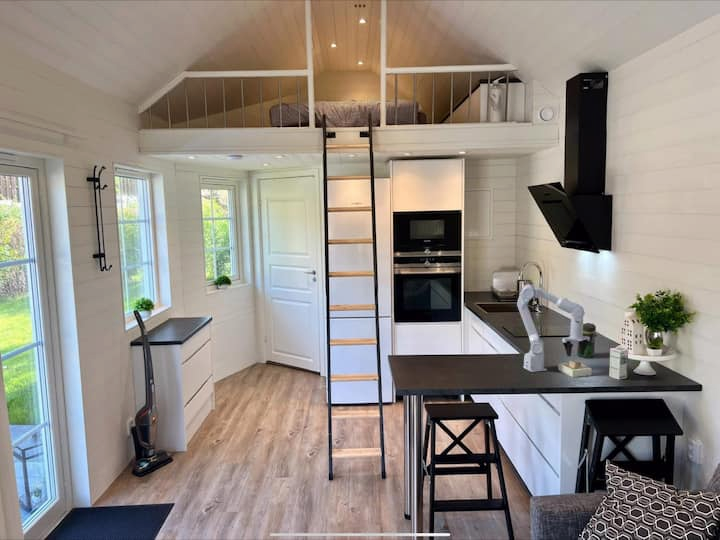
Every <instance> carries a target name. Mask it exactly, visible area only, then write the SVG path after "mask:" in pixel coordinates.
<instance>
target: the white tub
mask: <svg viewBox="0 0 720 540" xmlns="http://www.w3.org/2000/svg"><path fill="white" fill-rule="evenodd" d="M557 366H558V367H557V368H558V372H561V373H563V374H565V375H567V376H569V377H570V378H579V376H580V377H588V376H592V371H593V369H592V367H589V366H588V365H587V366H586V365H585V364H582V363H581V369H575V370H573V369H571V368H569V362H562V363H561V362H560V363H558V365H557ZM587 375H588V376H587Z"/></svg>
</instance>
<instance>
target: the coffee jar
mask: <svg viewBox="0 0 720 540" xmlns="http://www.w3.org/2000/svg"><path fill="white" fill-rule="evenodd" d="M596 328H597V326H596V325H595V324H594V323H590V322H586V323H583V336H588V337H590V341H588V342H589V345H588V346H587V348H586V350H585V352H584V355H581V354H580V346H579V341H577V352H576V353H577V354H576V355H577V357H580V358H583V357H584V358H587V359H590V358H592V357H595V343H596V342H595V340H596V339H595V338H596V332H597V329H596Z"/></svg>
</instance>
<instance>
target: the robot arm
mask: <svg viewBox="0 0 720 540" xmlns="http://www.w3.org/2000/svg"><path fill="white" fill-rule="evenodd" d="M533 298H534V299H538V298H542V299H544V300H545V301H546V300H547V301H548V302H551V303H553V304H555V306H556V309H559V310H560V311H563V312H566V313H567V314H571V320H570V328H569V329H570V330H569V331H570V334H569V336H567V337H562V340H561V341H562V345H563V346H564V350H565V353H566V356H567V357H571V356H572V349H573V347H574V344H573V343H572V342H574V343H575V342H578V341H579V346H580V354H581V355H584V352H585V350H586V348H587V346H588V345H589V342H588V341H590V337H588V336H583V324H584V317H585V310H584V307H583V306H582V305H580V304H578V303H577V302H572V301H571V300H569V299H568V298H567V297H557V296H556V295H554V294H552V293H550V292H548V291H546V290H544V289H542V288H540V287H538V286H535V285H534V286H533V285H532V284H530V283H527V284H524V285H523V286H522V288H521V290H520V292H519V296H518V298H517V303H516V306H517V309H518V311H519V314H520V317H521V320H522V322H523V325H524V327H525V331H526V333H527V335H528V338H529V343H530V350H529V351H528V352H527V353H526V352H525V353H524V356H523V366H522V368H524V369H525V370H527V371H529V372H531V373H534V372H544V371H548V369H547V368H546V367H545V351H544V349H545V348H544V346H545V345H544V341H543V339H542V338H541V337H540V335H539V333H538V331H537V328H536V326H535V323H534V320H533V317H532V315H531V312H530V309H529V307H528V304H529V302H530V301H531V300H532V299H533Z"/></svg>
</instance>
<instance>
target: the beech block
mask: <svg viewBox="0 0 720 540" xmlns="http://www.w3.org/2000/svg"><path fill="white" fill-rule="evenodd" d="M568 363H569V368H571V369H573V370H575V369H581V364H582V362H580V361H577V360H570V361H568Z"/></svg>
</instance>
